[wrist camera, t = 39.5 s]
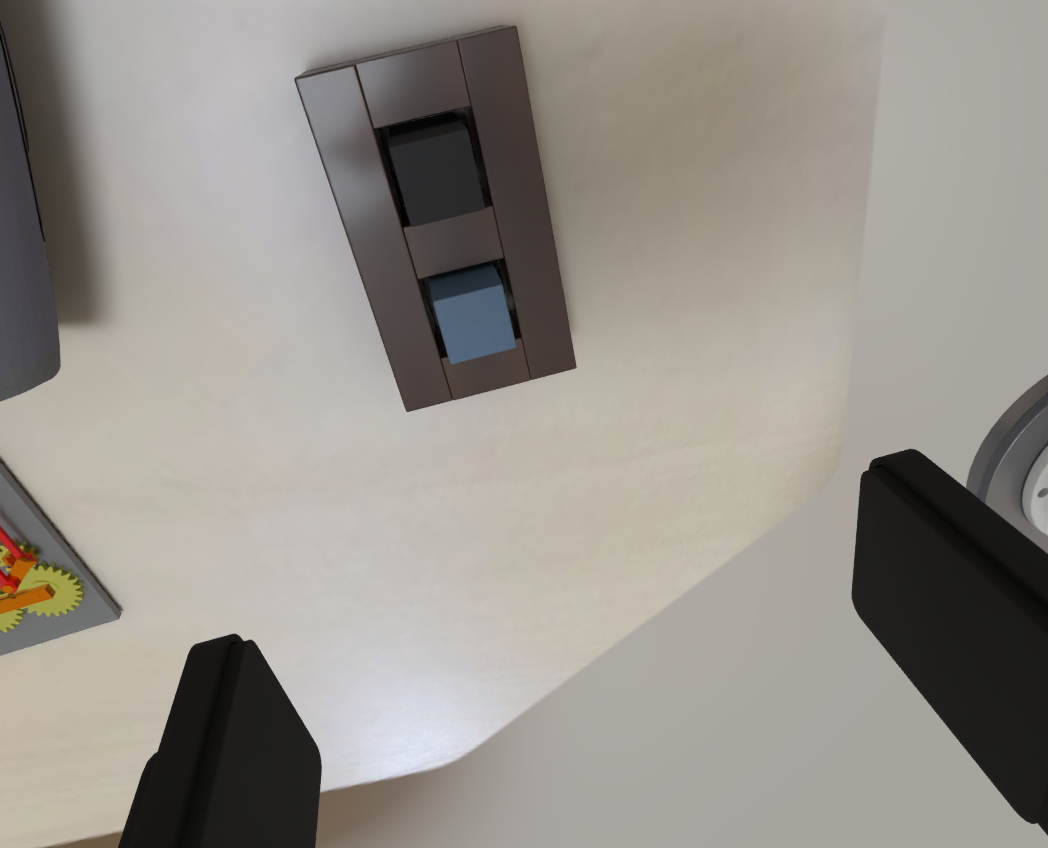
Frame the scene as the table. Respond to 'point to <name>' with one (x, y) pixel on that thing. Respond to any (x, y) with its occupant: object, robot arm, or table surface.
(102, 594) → the gear board
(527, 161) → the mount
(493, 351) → the blue rectangular block
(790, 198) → the table surface
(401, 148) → the black rectangular block
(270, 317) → the table surface
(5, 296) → the bluetooth speaker
